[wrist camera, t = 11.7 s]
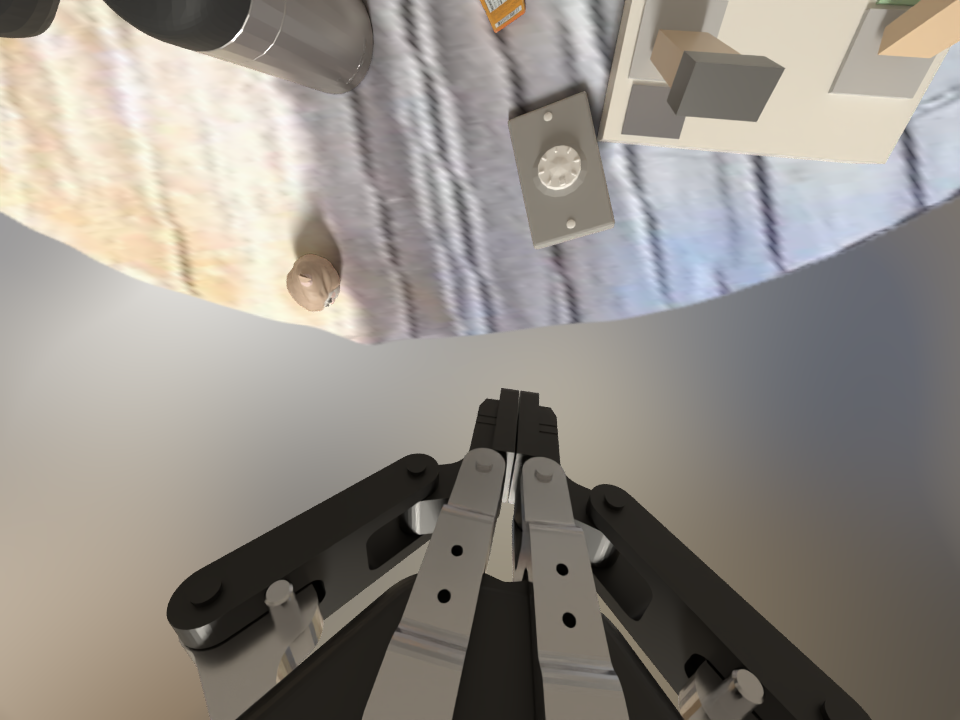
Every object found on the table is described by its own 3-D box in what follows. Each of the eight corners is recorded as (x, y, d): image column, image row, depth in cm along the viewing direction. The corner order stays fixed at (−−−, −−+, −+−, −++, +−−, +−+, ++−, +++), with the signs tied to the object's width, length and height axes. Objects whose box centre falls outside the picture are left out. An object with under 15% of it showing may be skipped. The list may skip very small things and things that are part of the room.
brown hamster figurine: (358, 290, 48) (328, 313, 41) (321, 306, 50) (286, 330, 43) (330, 243, 45) (293, 258, 38) (292, 262, 47) (250, 279, 40)
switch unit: (849, 163, 35) (889, 164, 31) (596, 141, 36) (603, 139, 33) (957, -44, 28) (1026, -78, 24) (637, -59, 30) (652, -92, 26)
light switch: (586, 82, 33) (616, 220, 33) (585, 119, 38) (611, 239, 38) (505, 114, 35) (532, 245, 35) (514, 145, 40) (538, 259, 40)
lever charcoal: (699, 67, 29) (756, 122, 20) (643, 63, 29) (676, 115, 21) (715, 27, 27) (785, 68, 18) (655, 23, 27) (696, 61, 19)
